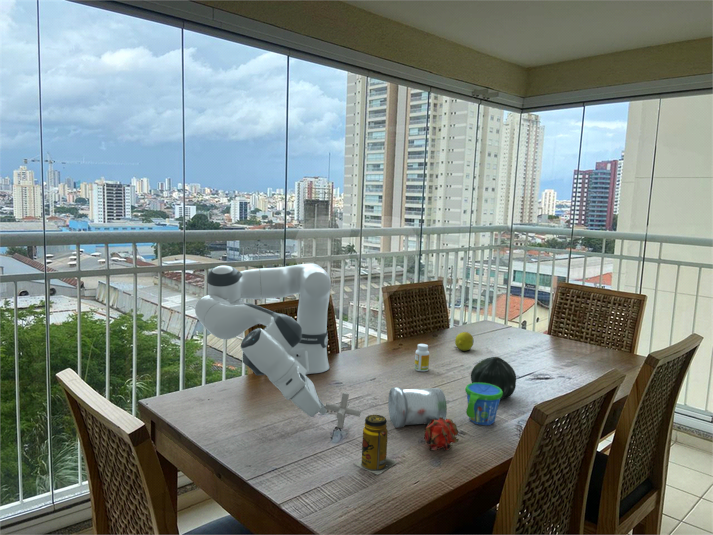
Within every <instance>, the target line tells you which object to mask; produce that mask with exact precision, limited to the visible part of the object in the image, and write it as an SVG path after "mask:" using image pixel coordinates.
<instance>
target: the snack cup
mask: <svg viewBox="0 0 713 535" xmlns="http://www.w3.org/2000/svg"><path fill="white" fill-rule="evenodd" d="M465 393H466V397H467V408H466V411H465V412H466V416H467V417H468V420H470V421H471V422H472V423H474V424H475V425H481V426H490V425H493V423H494V422H495V421H496V418H497V413H498V409H499V406H500V401H501V400H500V398H501V397H502V395H503V391H502V390H501V389H500V388H499V387H497V386H495V385H492V384H488V383H472V382H471V383H468V384H467V385H466V386H465Z"/></svg>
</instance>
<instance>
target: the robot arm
mask: <svg viewBox="0 0 713 535" xmlns="http://www.w3.org/2000/svg"><path fill="white" fill-rule="evenodd" d="M206 282H207V295H205V296H202V297H201V298H200V299H199V300H198V301H197V302H196V305H195V308H194V313H195V316H196V319H198V321H199V322H200V324H201V325H202V326H203V328H204V329H206V331H208V332H209V333H210V334H211V335H212V336H214V337H215V338H217V339H220V340H231V339H234V338H237V337H238V336H240V335H241V334H243V333H244V332H245V331H247V330H248V329H250V328H252V327H254V326H257V325H260V324H261V325H263V326H265V327H264V329H262V328H258V327H257V328H255V329H253V330H251V331H250V332H248V334H246V335H245V336H244V338H243V339H242V341H241V343H240V349H241V351H242V363H243V364H244V365H246V366H247V367H248V368H249V369H250V370H251V371H252V372H253V373H254V374H255V375H254V376H267V378H268V380H269V381H270V382H271V383H272V385H274V386H275V387H276V388H277V390H279V391H280V392H281V395H282V396H283V397H284V399H286V400H287V401H291V403H293V404H294V405H295V406H296V407H297V408H299V409H300V410H301V411H302V412H303V413H305V414H306V415H307V416H309V417H310V418H314V417H315V416H316V415H317V414H318V413H320V415H322V416H324V415H326V414H327V413H328V410H327V409H326V407H325V405H326V404H324V403H323V402H322V401H321V399H320V398H319V397H318V394H317V391H316V387H315V385H314V384H315V383H313V381H312V379H310V378H309V377H308V375H310V374H311V375H312V374H321V373H324V372H326V371H328V370H329V369H330V364H329V360H328V351H327V346H328V342H329V341H328V338H329V337H328V330H327V326H328V308H329V302H330V296H331V288H332V287H331V286H332V280H331V277H330V274H329V273H328V272H327V271H326V270H325V269H324V268H323V267H322V266H321V265H319V264H318V263H317V264H316V263H302V264H295V265H294V264H293V265H287V266H281V267H280V266H279V267H265V268H252V269H247V270H242V271H239V270H238V269H237V268H235V267H233V266H230V265H225V264H223V265H218V266H214V267H212V268H211V269H210V270H209V271H208V273H207V278H206ZM298 294H299V296H298V305H297V306H298V307H297V318H296V320H295V319H294V318H293V317H292V316H289V315H287V314H284V313H278V312H276V311H272V310H270V309H267V308H264V307H262V306H260V305H257V304H255V303H254V304H253V303H251V302H243V300H265V299H267V300H268V299H276V298H277V299H279V298H286V297H289V296H294V295H298Z"/></svg>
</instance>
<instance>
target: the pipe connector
mask: <svg viewBox="0 0 713 535" xmlns="http://www.w3.org/2000/svg"><path fill="white" fill-rule="evenodd" d="M349 394H350V393H349V392H348V391H342V394H341V400H340V405H339V404H333V403H329V402H326V403H325V404H324V405H325V407H326V410H327V411H333V412H336V415H335V416H336V419H337V423H336V427H337V428H338V429H343V428H344V425H345V420H346V415H351V416H354V417H358V418H359V417H360V416H361V412H362V410H361V409H357V408H352V407H350V406H349V405H350V402H349Z"/></svg>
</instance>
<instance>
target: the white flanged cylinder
mask: <svg viewBox="0 0 713 535" xmlns="http://www.w3.org/2000/svg"><path fill="white" fill-rule="evenodd" d="M387 400H388V402H387V403H388V404H387V406H388V415H389V420H390V422H391V423H392V425H393V427H394V428H397V429H399V428H404V426H409V425H410V426H411V425H412V426H414V425H428V424H429V423H430V421H431V420H433V419H434V420H439V417H442V418H443V419H444V420H446V419H447V410H448V408H447V399H446V395H445V393H444V391H443V389H441V388H440V387H433V388H432V387H430V388H405V389H404V388H403V389H402V387H391V388H390V390H389V393H388V399H387Z"/></svg>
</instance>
